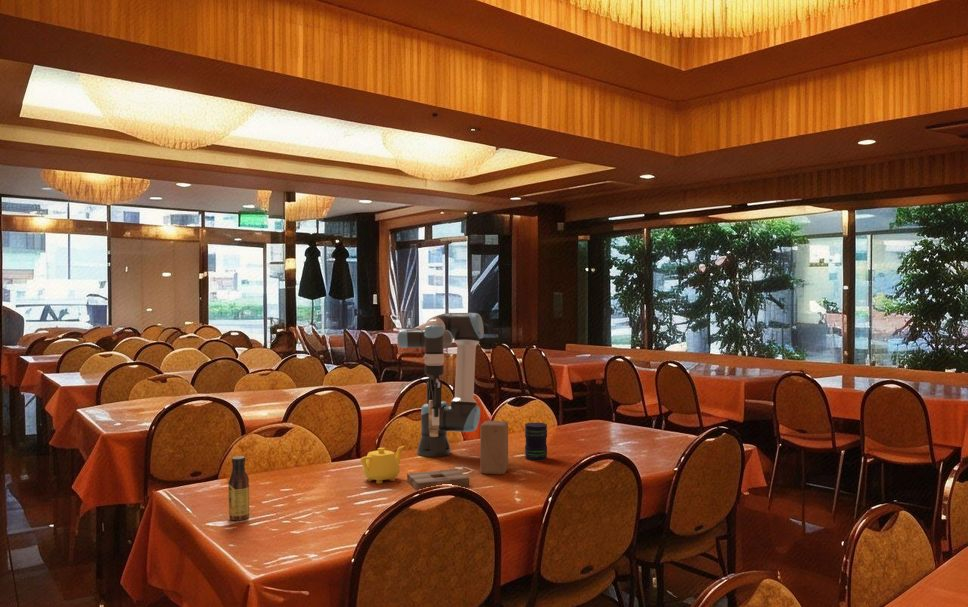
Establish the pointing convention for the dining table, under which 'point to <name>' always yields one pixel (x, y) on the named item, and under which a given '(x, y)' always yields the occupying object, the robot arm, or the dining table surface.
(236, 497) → the sauce bottle
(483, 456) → the wooden block
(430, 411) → the peg
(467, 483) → the board
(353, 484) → the dining table surface
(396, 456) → the teapot
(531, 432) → the storage jar
